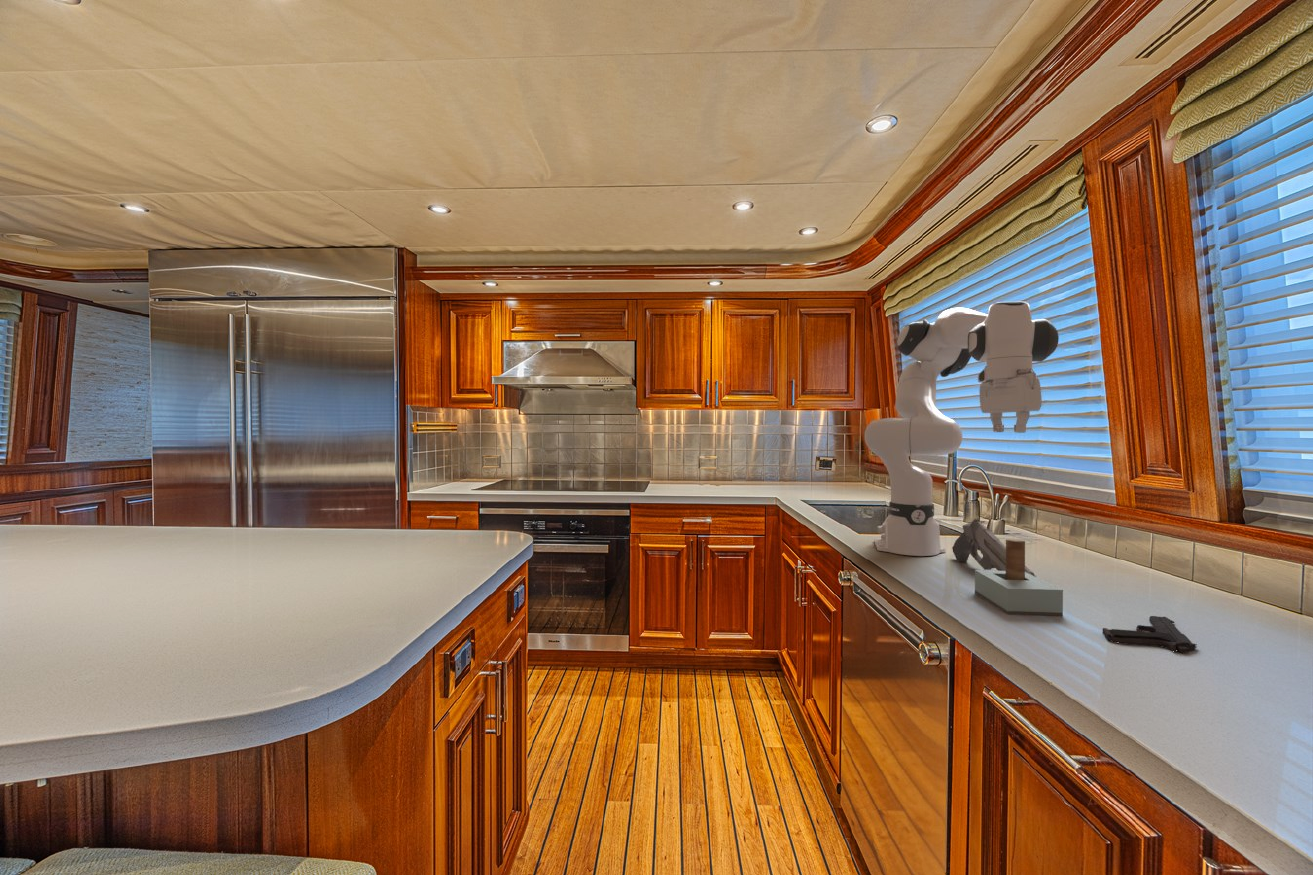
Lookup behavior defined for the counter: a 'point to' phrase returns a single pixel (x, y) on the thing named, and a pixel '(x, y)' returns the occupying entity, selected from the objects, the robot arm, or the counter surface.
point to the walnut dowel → (1015, 559)
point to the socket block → (1019, 594)
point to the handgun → (1153, 635)
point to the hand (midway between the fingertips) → (1008, 432)
